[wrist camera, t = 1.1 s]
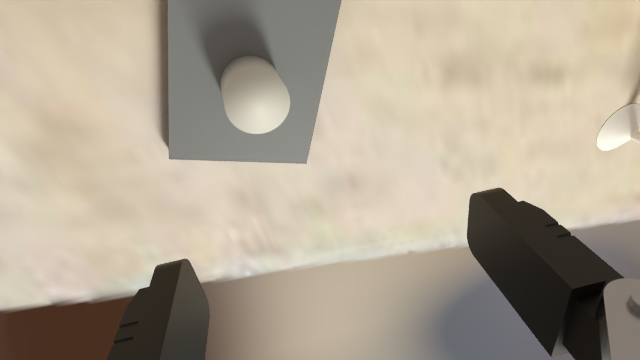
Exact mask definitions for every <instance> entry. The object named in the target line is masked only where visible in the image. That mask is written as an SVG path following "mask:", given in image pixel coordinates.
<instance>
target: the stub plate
mask: <svg viewBox="0 0 640 360" xmlns="http://www.w3.org/2000/svg"><path fill="white" fill-rule="evenodd" d="M340 4H341V0H168V116H169V159H178V160H209V161H240V162H270V163H301V164H306V163H307V158H308V154H309V149H310V144H311V140H312V135H313V130H314V126H315V121H316V116H317V112H318V107H319V102H320V98H321V93H322V88H323V84H324V79H325V74H326V70H327V65H328V60H329V56H330V51H331V46H332V42H333V37H334V32H335V28H336V23H337V18H338V14H339V9H340Z"/></svg>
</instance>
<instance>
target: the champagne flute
mask: <svg viewBox="0 0 640 360" xmlns="http://www.w3.org/2000/svg"><path fill="white" fill-rule="evenodd" d="M639 127H640V105H639V104H629V105H627V106H624V107H623V108H621V109H619V110H618V111H616V112H615V113H614V114H613V115H612V116H611V117H610V118H609V119H608V120H607V121H606V122H605V124H604V125H603V127H602V128H601V130H600V132H599V134H598V137H597V146H598V148H599V149H601V150H604V151H605V150H611V149H614V148H616V147H618V146H619V145H621V144H623V143H625V142H627V141H629V140H630V139H632V140H634V141H636V142H639V143H640V131H638V130H639Z"/></svg>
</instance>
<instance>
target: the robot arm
mask: <svg viewBox="0 0 640 360" xmlns="http://www.w3.org/2000/svg"><path fill="white" fill-rule="evenodd" d="M467 240H468V244H469V247H470V250H471V252H472V254H473V255H474V257H475V258H476V260H477V261H478V262H479V263H480V265H481V266H482V267H483V268H484V270H485V271H486V273H487V274H488V275H489V277H490V278H491V279H492V280H493V282H494V283H495V284H496V286H497V287H498V288H499V290H500V291H501V292H502V293H503V295H504V296H505V297H506V299H507V300H508V301H509V303H510V304H511V305H512V306H513V308H514V309H515V311H516V312H517V313H518V314H519V316H520V317H521V318H522V320H523V321H524V322H525V324H526V325H527V326H528V328H529V329H530V330H531V331H532V333H533V334H534V335H535V337H536V338H537V339H538V341H539V342H540V343H541V345H542V346H543V347H544V348H545V349H546V351H547V352H548V354H549V355H550V356H551V357H554V356H558V355H562V354H565V353H570V354H571V355H572V356H573V358H574V359H575V360H640V279H632V278H624V277H623V276H621V275H620V274H619V273H618V272H616V271H615V270H614V269H613V268H612V267H611V266H609V265H608V264H607V263H606V262H605V261H603V260H602V259H601V258H600V257H599V256H598V255H596V254H595V253H594V252H593V251H592V250H590V249H589V248H588V247H587V246H586V245H584V244H583V243H582V242H581V241H580V240H579V239H577V238H576V237H575V236H571V233H570V232H569V231H568V230H567V229H565V228H564V227H563V226H562V225H559V224H558V222H557V221H556V220H555V219H554V218H552V217H551V216H550V215H549V214H548V213H546V212H545V211H544V210H542V209H540V208H538V207H536V206H534V205H532V204H529V203H527V202H525V201H520V202H517V201H516V200H515V199H514V198H513V197H512V196H511V195H510V194H508V193H507V192H506V191H505V190H504V189H502V188H495V189H490V190H486V191H482V192H477V193H473V194H472V195H471V197H470V202H469V215H468V229H467ZM209 317H210V314H209V305H208V300H207V297H206V295H205V292H204V290H203V288H202V286H201V284H200V282H199V280H198V278H197V276H196V274H195V271H194V269H193V267H192V265H191V263H190V262H189V260H188V259H182V260H178V261H173V262H169V263H164V264H160V265H157V266H156V268H155V270H154V273H153V276H152V280H151V283H150V286H149V287H147V288H143V289H140V290H139V291H138V292H137V293H136V295H135V296H134V297H133V299H132V300H131V301H130V302H129V304H128V305H127V307H126V309H125V311H124V314H123V317H122V320H121V322H120V329H118V331H117V334H116V336H115V339H114V345H112V347H111V350H110V353H109V355H108V358H107V360H205V352H206V344H207V335H208V327H209Z"/></svg>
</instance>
